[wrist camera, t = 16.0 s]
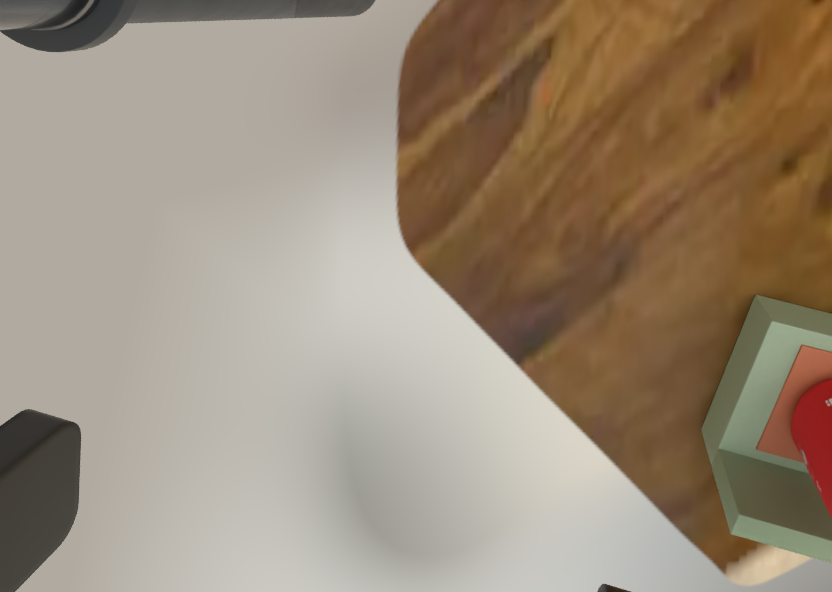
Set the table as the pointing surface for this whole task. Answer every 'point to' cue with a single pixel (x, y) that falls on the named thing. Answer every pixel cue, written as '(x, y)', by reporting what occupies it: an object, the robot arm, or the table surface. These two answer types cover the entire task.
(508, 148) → the table surface
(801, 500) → the shelf stand
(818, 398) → the beverage can
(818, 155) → the table surface
